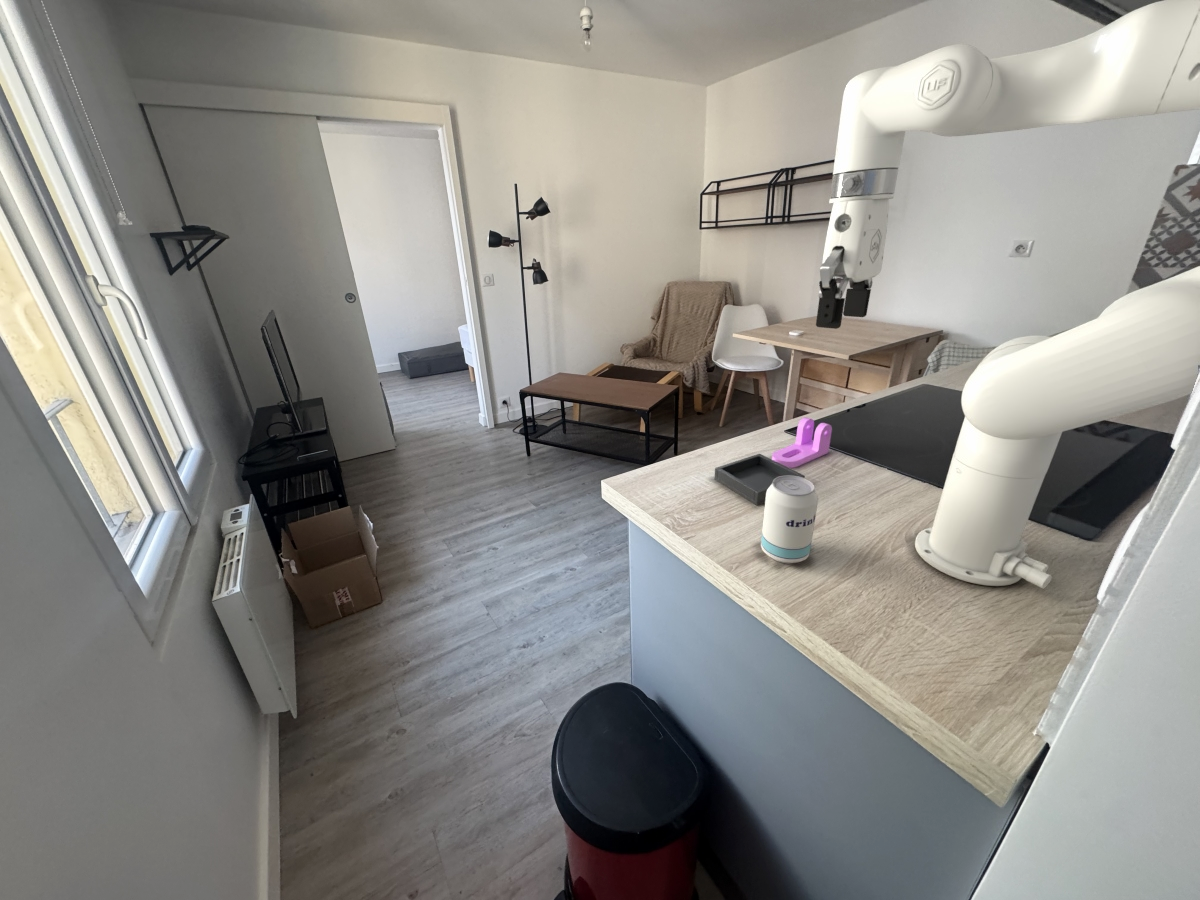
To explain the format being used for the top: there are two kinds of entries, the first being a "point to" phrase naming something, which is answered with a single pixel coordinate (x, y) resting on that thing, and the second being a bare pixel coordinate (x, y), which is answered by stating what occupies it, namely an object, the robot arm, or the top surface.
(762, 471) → the tray
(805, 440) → the bracket
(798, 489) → the beverage can
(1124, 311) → the robot arm
